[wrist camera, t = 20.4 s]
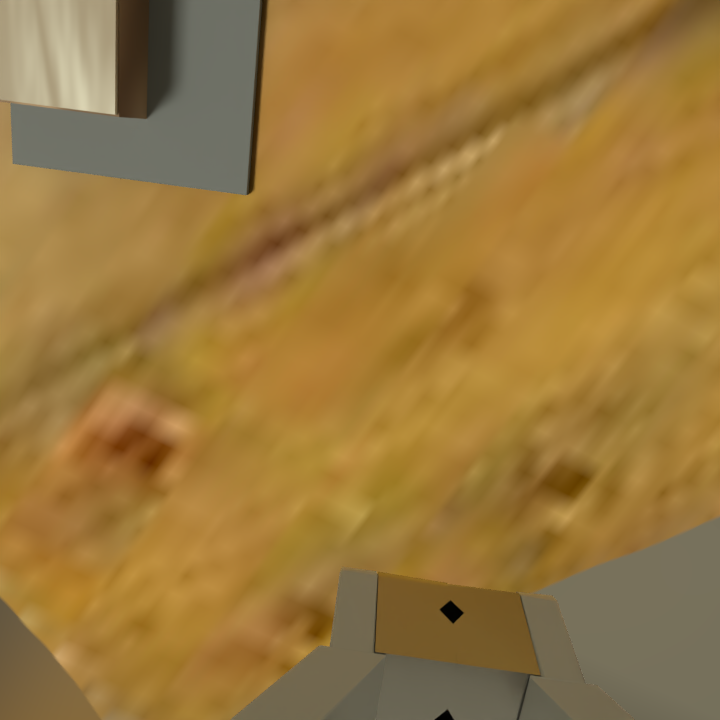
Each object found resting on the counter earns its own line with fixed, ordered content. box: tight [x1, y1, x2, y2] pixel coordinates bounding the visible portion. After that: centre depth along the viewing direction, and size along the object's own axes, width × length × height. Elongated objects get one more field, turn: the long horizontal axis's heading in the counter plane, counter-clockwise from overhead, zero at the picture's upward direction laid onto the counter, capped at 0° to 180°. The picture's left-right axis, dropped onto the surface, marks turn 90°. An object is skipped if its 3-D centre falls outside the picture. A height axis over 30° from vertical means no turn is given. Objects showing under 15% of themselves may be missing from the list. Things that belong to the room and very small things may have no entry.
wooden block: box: [0, 0, 149, 119], centre depth 35 cm, size 4×9×8 cm
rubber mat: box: [11, 0, 262, 195], centre depth 38 cm, size 14×16×1 cm
